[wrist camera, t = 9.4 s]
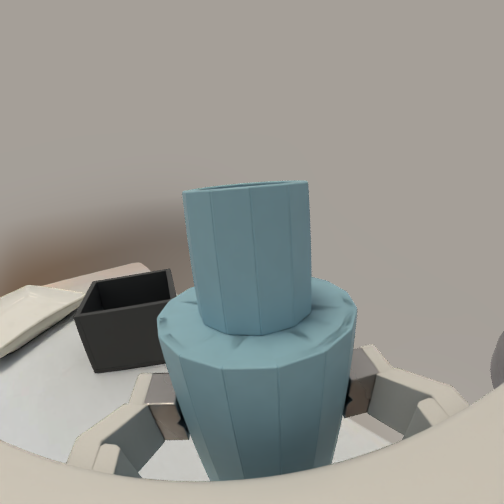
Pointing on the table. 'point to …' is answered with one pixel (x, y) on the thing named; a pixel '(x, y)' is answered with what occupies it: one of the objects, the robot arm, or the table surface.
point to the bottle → (257, 335)
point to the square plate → (33, 313)
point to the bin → (124, 320)
